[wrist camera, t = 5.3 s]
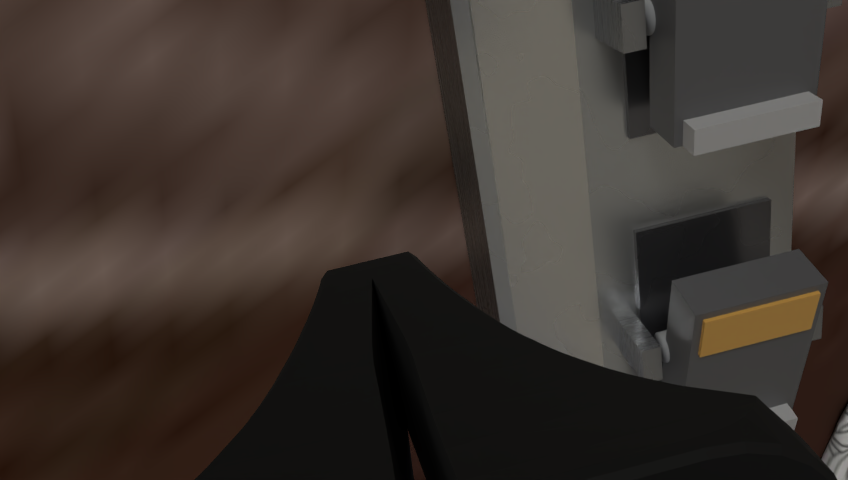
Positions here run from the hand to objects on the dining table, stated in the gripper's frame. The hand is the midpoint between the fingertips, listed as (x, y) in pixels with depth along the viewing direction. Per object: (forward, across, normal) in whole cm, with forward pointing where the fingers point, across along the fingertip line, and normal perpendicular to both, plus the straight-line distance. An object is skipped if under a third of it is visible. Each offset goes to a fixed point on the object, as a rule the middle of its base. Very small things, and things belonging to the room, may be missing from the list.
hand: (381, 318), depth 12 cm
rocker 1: (+6, -8, -2) cm, 11 cm away
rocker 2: (+6, -8, +6) cm, 12 cm away
